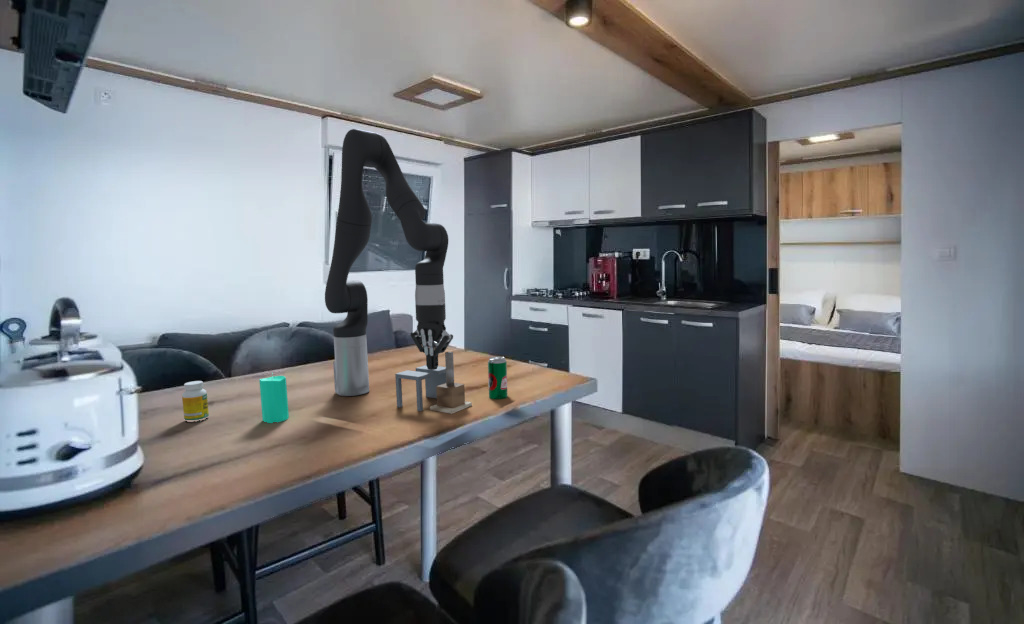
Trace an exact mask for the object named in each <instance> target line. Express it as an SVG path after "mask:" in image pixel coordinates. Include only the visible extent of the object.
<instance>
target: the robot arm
mask: <svg viewBox="0 0 1024 624" xmlns="http://www.w3.org/2000/svg"><path fill="white" fill-rule="evenodd" d="M364 168H372V169H375V170H376V171H378V173H379V174H380V175H381V176H382V178H383V180H384V183H385V196H386V200H387V202H388V204H389V207H391V209H392V211H393V212H394V214H395V215H396V217H397V218H398V220H399V221H400V224H401V228H402V231H403V234H404V238H405V240H406V242H407V243H408V245H409V247H411V248H412V249H413V250H414V251H418V252H425V255H424V259H423V260H420V261H418V262H417V263H416V264H415V267H414V270H415V271H414V274H415V290H414V301H415V305H414V306H415V320H416V322H417V325H416V330H414V331H413V332H410V334H409V335H410V337H411V339H412V341H413V342H414V345H416V347H417V349H418V351H419V353H423V354H424V355H425V363H426V364H425V365H427V368H428V369H429V370H435V369H437V367H438V366H439V355H440V354H443V353H445V352H446V350H447V348H448V347H449V345H450V344H451V342H452V340H453V339H454V335H453V334H452V333H451V334H450V333H449V332H448V331H446V330H447V326H446V325H445V321H446V319H447V318H446V316H447V315H446V292H445V291H446V290H445V285H444V280H445V279H444V266H445V263H446V258H447V254H448V253H447V252H448V248H449V235H448V231H447V230H446V228H445V226H443V225H442V224H440V223H436V222H435V223H434V222H433V223H432V222H424V221H423V220H424V218H425V216H426V209H425V207H424V204H423V203H422V202H421V200H420V199H419V198H418V196H417V195H416V193H415V192H414V191H413V189H412V188H411V186H410V185H409V183H408V181H407V180H406V178H405V176H404V173H403V171H402V169H401V167H400V165H399V162H398V161H397V158H396V156H395V155H394V152H393V150H392V148H391V145H390V143H389V142H388V140H387V139H386V137H384V135H383V134H380V133H377V132H374V131H369V130H368V131H367V130H365V129H364V130H363V129H358V128H351V129H349V130H348V131H347V132H346V134H345V136H344V138H343V142H342V148H341V172H340V173H341V174H340V177H341V178H340V179H341V181H340V182H341V183H340V191H339V193H340V194H339V202H338V203H339V204H338V209H337V215H336V224H335V230H334V231H335V233H334V240H333V241H334V243H333V251H332V258H331V263H330V267H329V272H328V276H327V280H326V285H325V291H324V303H325V307H326V309H327V310H328V312H330V313H331V314H345V313H346V317H345V318H344V319H343V320H342V321H341V322H340V323H338V324H336V325H335V326H334V327H333V330H332V331H333V332H332V333H333V334H332V335H333V346H334V347H333V349H334V351H333V352H334V361H333V362H332V364H333V380H334V393H336V394H337V395H338V396H340V397H341V396H342V397H351V396H352V397H353V396H354V397H355V396H360V395H365V394H367V393H370V379H369V377H370V376H369V364H368V363H369V362H368V361H369V358H368V344H367V343H368V341H367V326H368V321H369V319H368V316H369V315H368V311H369V309H368V307H369V306H368V303H369V302H368V292H367V291H368V290H367V288H366V286H365V284H364V283H363V282H362V281H360V280H348V278H349V274H350V271H351V269H352V266H353V264H354V263H355V262H356V260H357V259H358V257H360V255H361V254H362V252H363V251H364V250H365V248H366V246H367V245H368V242H369V240H370V235H371V230H372V223H373V216H372V211H371V208H370V205H369V203H368V201H367V198H366V195H365V192H364V189H363V175H364V174H363V173H364Z"/></svg>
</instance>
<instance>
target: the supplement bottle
mask: <svg viewBox="0 0 1024 624" xmlns="http://www.w3.org/2000/svg"><path fill="white" fill-rule="evenodd" d="M183 386H184V387H183V388H184V391H183V392H182V394H181V399H182V400H181V401H182V409H183V410H182V411H183V419H185V420H199V419H203V418H206V417H208V416H209V417H210V412H209V402H208V392H207V390H206V389H204V388H203V387H204V382H203V381H202V380H194V381H188V382H185V383H184V384H183Z"/></svg>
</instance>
